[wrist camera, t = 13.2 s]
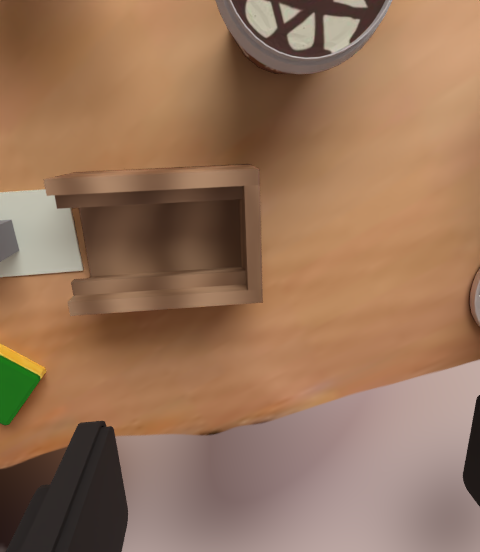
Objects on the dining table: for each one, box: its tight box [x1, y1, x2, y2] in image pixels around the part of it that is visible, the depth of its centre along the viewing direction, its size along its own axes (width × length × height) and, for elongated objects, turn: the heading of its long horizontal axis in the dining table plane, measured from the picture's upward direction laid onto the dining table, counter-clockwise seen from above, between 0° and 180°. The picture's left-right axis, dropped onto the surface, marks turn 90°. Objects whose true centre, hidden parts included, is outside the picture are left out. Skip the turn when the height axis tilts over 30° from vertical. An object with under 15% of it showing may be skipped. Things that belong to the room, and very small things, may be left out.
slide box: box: [43, 164, 263, 316], centre depth 35 cm, size 16×11×8 cm
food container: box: [216, 0, 392, 74], centre depth 29 cm, size 12×6×10 cm, turn 106°
